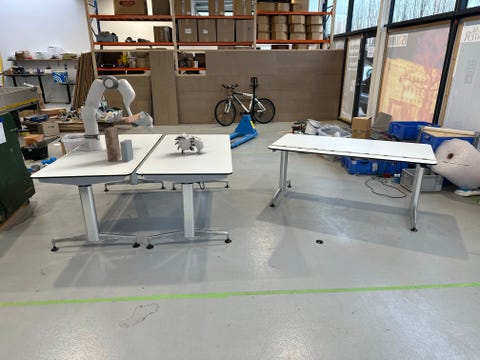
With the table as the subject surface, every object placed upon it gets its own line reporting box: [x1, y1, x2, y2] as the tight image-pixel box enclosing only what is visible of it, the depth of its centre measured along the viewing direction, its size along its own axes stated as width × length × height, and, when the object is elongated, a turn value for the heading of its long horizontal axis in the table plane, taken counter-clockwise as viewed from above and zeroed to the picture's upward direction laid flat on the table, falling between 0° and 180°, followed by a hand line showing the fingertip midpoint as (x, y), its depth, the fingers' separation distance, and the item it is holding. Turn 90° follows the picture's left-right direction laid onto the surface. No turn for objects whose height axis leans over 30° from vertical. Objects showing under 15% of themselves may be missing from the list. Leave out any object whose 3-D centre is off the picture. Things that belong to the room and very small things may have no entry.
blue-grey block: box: [119, 139, 135, 163], centre depth 268 cm, size 5×10×16 cm, turn 173°
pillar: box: [103, 126, 122, 162], centre depth 268 cm, size 6×10×26 cm, turn 172°
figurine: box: [174, 132, 210, 155], centre depth 292 cm, size 17×16×30 cm
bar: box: [124, 113, 140, 123], centre depth 277 cm, size 3×22×3 cm, turn 172°
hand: (136, 116), depth 284 cm, fingers closed on bar, 3 cm apart
